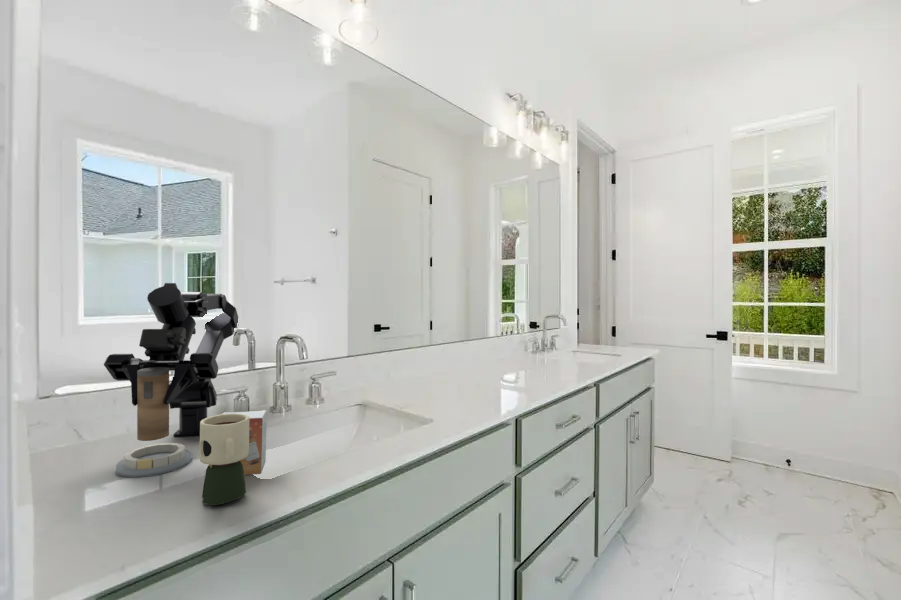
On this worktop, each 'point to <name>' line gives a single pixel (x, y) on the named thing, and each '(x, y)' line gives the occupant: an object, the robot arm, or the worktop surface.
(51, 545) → the worktop surface
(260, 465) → the small box
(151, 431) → the brown wooden canister
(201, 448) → the character mug
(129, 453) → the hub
